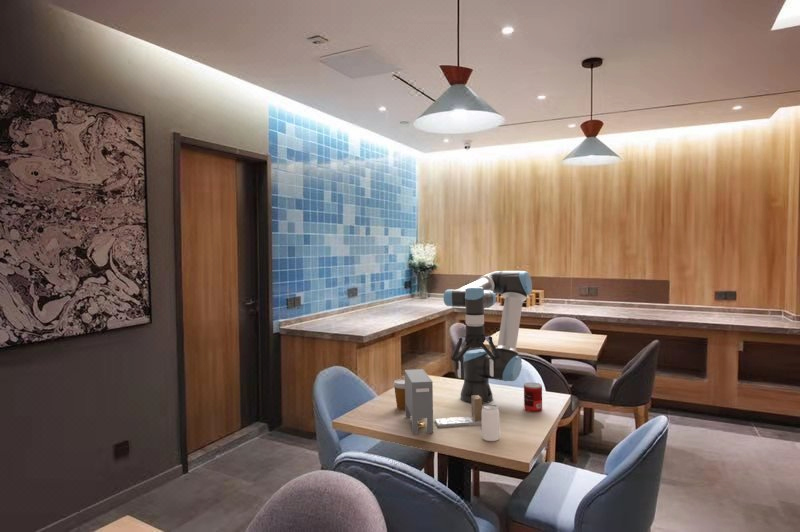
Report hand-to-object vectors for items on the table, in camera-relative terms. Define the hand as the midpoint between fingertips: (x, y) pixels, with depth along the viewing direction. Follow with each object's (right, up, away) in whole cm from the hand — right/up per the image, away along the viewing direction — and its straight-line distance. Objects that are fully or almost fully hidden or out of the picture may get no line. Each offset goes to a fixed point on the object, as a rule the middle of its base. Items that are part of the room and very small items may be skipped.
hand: (475, 376), depth 197 cm
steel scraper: (-7, -19, 0) cm, 20 cm away
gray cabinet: (-23, -19, -1) cm, 30 cm away
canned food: (+28, -18, +16) cm, 37 cm away
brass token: (-23, -20, -3) cm, 30 cm away
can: (+3, -19, -18) cm, 26 cm away
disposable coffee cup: (-29, -19, +21) cm, 41 cm away
